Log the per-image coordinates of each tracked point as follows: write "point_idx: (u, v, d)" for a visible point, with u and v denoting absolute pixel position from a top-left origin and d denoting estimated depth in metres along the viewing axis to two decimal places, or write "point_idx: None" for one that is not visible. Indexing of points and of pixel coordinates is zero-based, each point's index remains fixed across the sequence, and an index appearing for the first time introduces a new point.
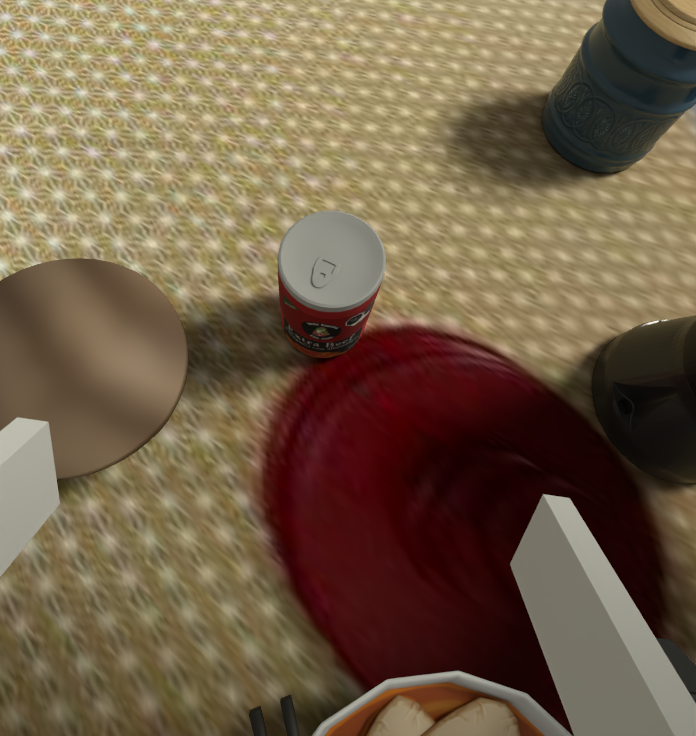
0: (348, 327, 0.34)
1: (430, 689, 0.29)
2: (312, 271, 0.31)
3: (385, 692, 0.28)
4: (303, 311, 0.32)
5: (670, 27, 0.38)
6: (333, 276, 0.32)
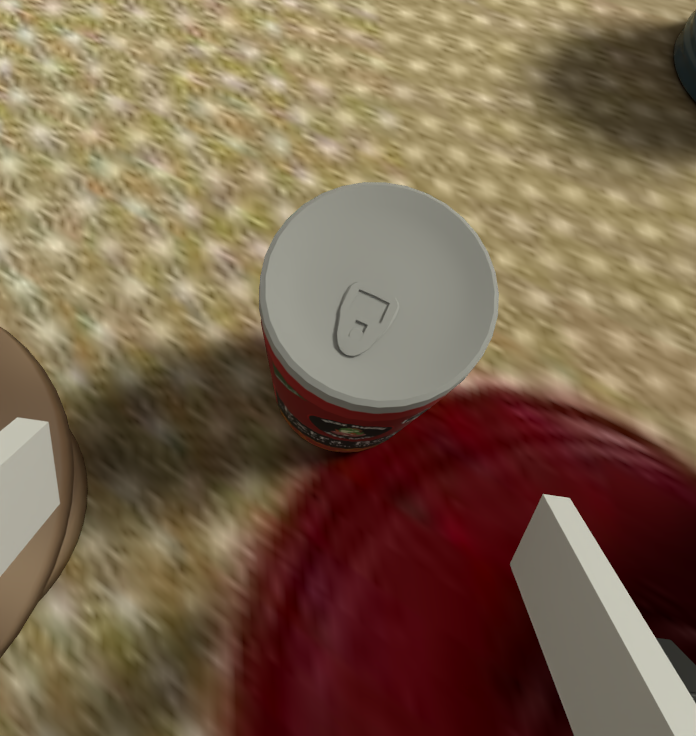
0: (405, 423, 0.17)
1: None
2: (338, 317, 0.14)
3: None
4: (315, 404, 0.14)
5: None
6: (384, 328, 0.14)
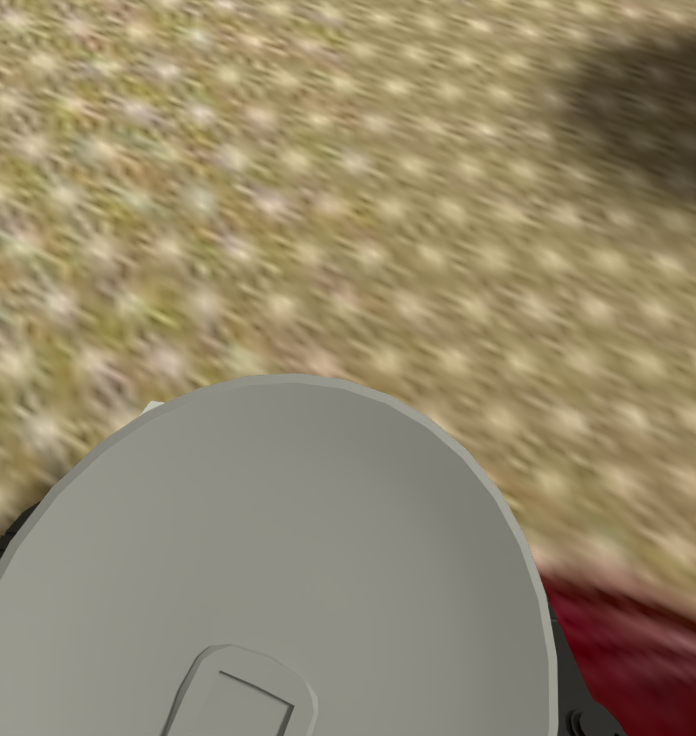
0: None
1: None
2: None
3: None
4: None
5: None
6: None
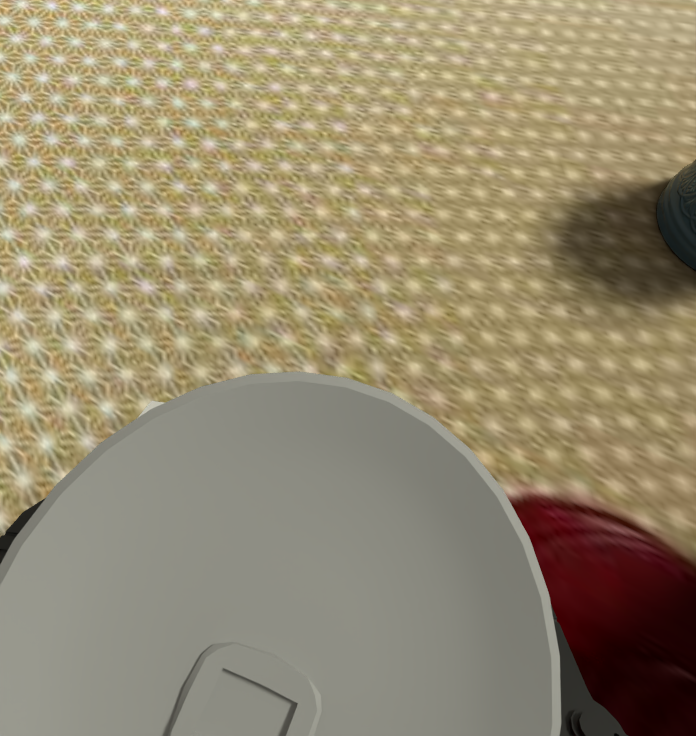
0: None
1: None
2: None
3: None
4: None
5: None
6: None
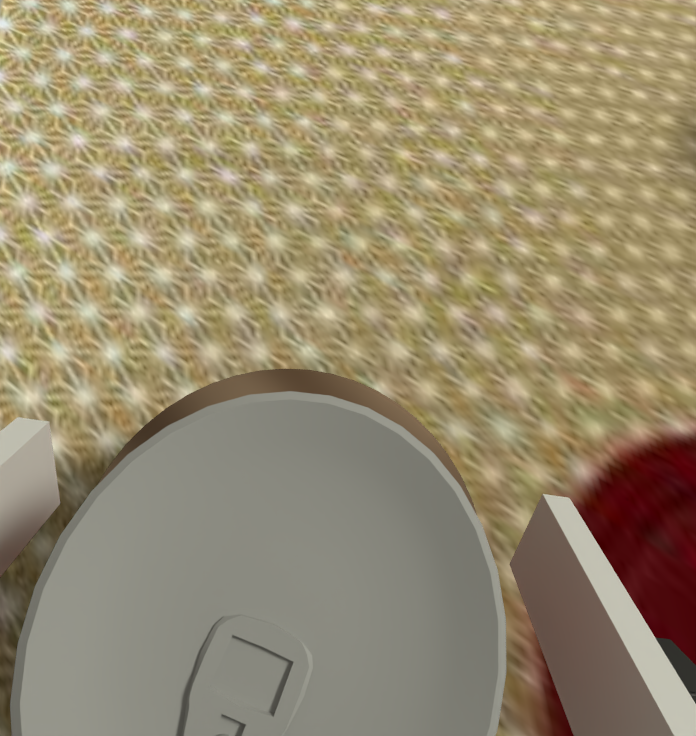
0: None
1: None
2: (185, 712, 0.07)
3: None
4: None
5: None
6: (281, 722, 0.07)
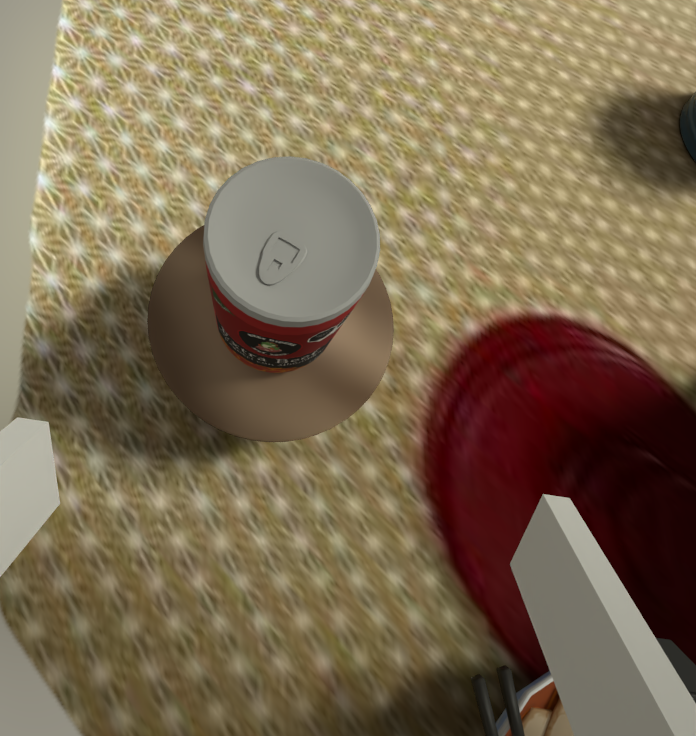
0: (311, 343, 0.23)
1: None
2: (261, 256, 0.19)
3: None
4: (241, 319, 0.20)
5: None
6: (294, 267, 0.20)
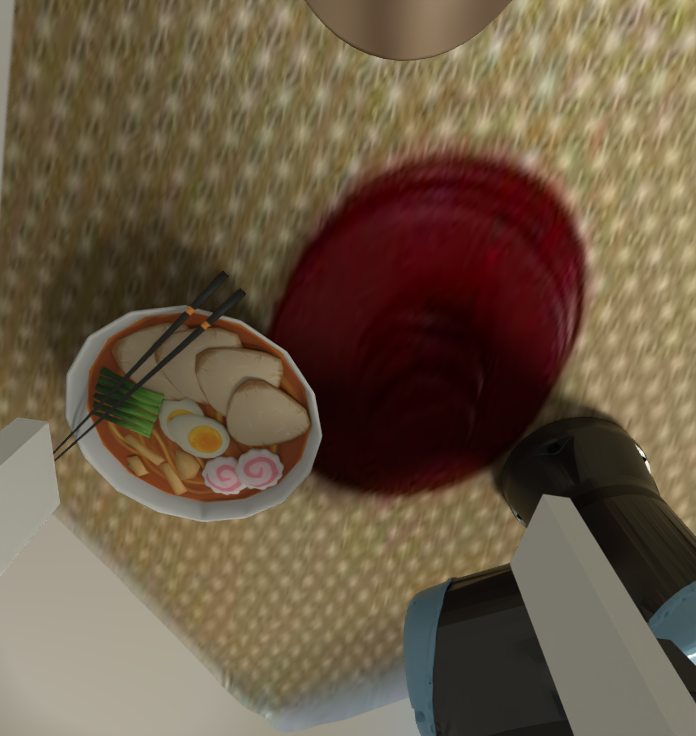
0: None
1: (294, 378, 0.40)
2: None
3: (278, 351, 0.39)
4: None
5: None
6: None
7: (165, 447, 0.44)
